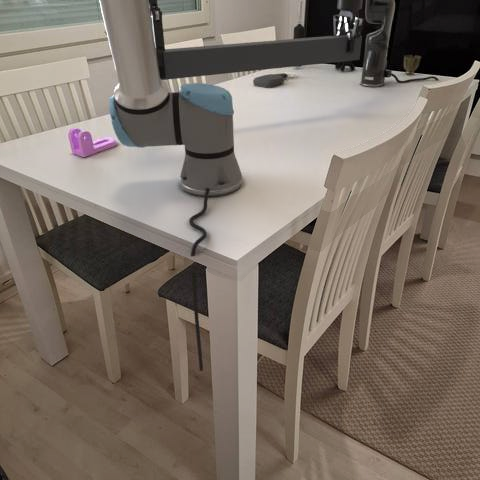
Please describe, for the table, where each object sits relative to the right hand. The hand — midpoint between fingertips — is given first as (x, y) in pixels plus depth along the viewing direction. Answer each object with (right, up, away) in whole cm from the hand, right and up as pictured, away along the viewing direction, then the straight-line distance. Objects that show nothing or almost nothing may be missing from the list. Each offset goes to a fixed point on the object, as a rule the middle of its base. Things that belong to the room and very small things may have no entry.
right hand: (344, 51), depth 146 cm
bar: (-29, -9, -9) cm, 32 cm away
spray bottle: (-18, +10, +56) cm, 59 cm away
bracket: (-77, -35, -14) cm, 86 cm away
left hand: (-58, -15, -19) cm, 63 cm away
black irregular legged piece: (+17, +22, +75) cm, 80 cm away
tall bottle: (-5, +25, +80) cm, 84 cm away
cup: (+45, +16, +64) cm, 80 cm away
